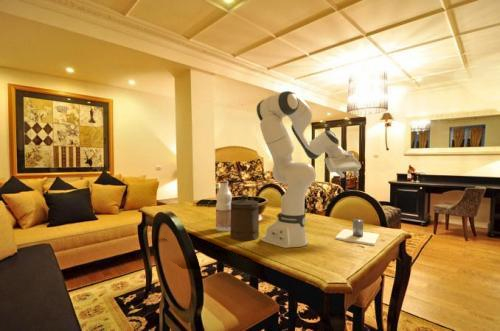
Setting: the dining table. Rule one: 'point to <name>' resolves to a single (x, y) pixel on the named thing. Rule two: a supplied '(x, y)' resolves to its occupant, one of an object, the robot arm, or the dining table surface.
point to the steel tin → (357, 228)
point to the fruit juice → (223, 207)
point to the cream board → (366, 239)
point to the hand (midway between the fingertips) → (350, 176)
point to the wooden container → (244, 219)
